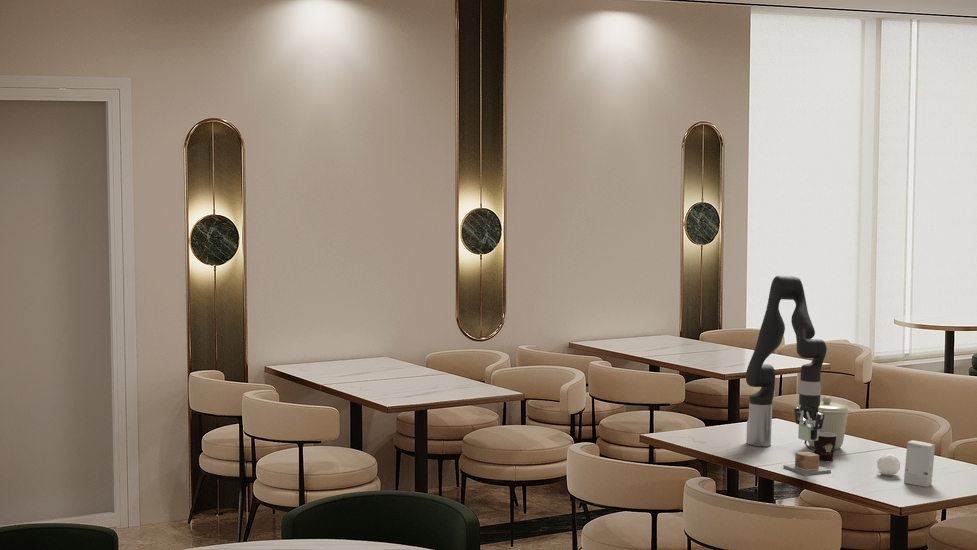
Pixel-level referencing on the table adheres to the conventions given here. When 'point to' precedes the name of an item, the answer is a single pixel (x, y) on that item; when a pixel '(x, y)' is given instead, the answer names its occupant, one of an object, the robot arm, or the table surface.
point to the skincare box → (919, 463)
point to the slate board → (807, 472)
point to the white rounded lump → (888, 464)
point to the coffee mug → (824, 446)
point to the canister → (833, 420)
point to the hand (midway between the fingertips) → (808, 438)
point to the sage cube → (805, 432)
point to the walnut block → (807, 460)
